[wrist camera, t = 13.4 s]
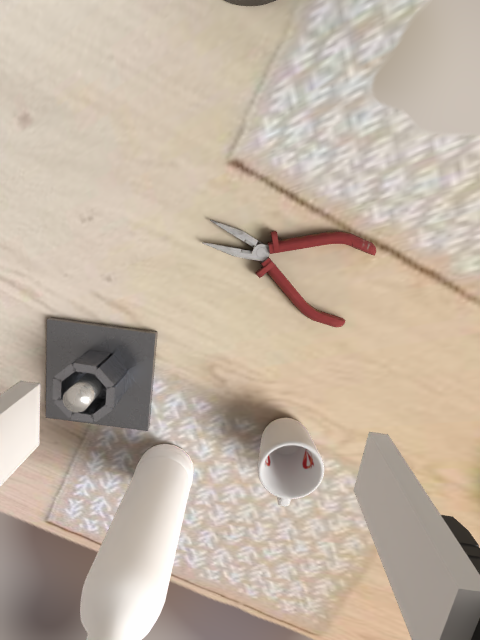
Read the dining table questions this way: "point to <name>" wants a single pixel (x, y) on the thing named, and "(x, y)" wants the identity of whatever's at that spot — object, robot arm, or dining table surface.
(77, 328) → the piston jig
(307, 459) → the cup
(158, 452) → the bottle
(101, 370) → the ring
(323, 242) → the pliers
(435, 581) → the robot arm
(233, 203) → the dining table surface
